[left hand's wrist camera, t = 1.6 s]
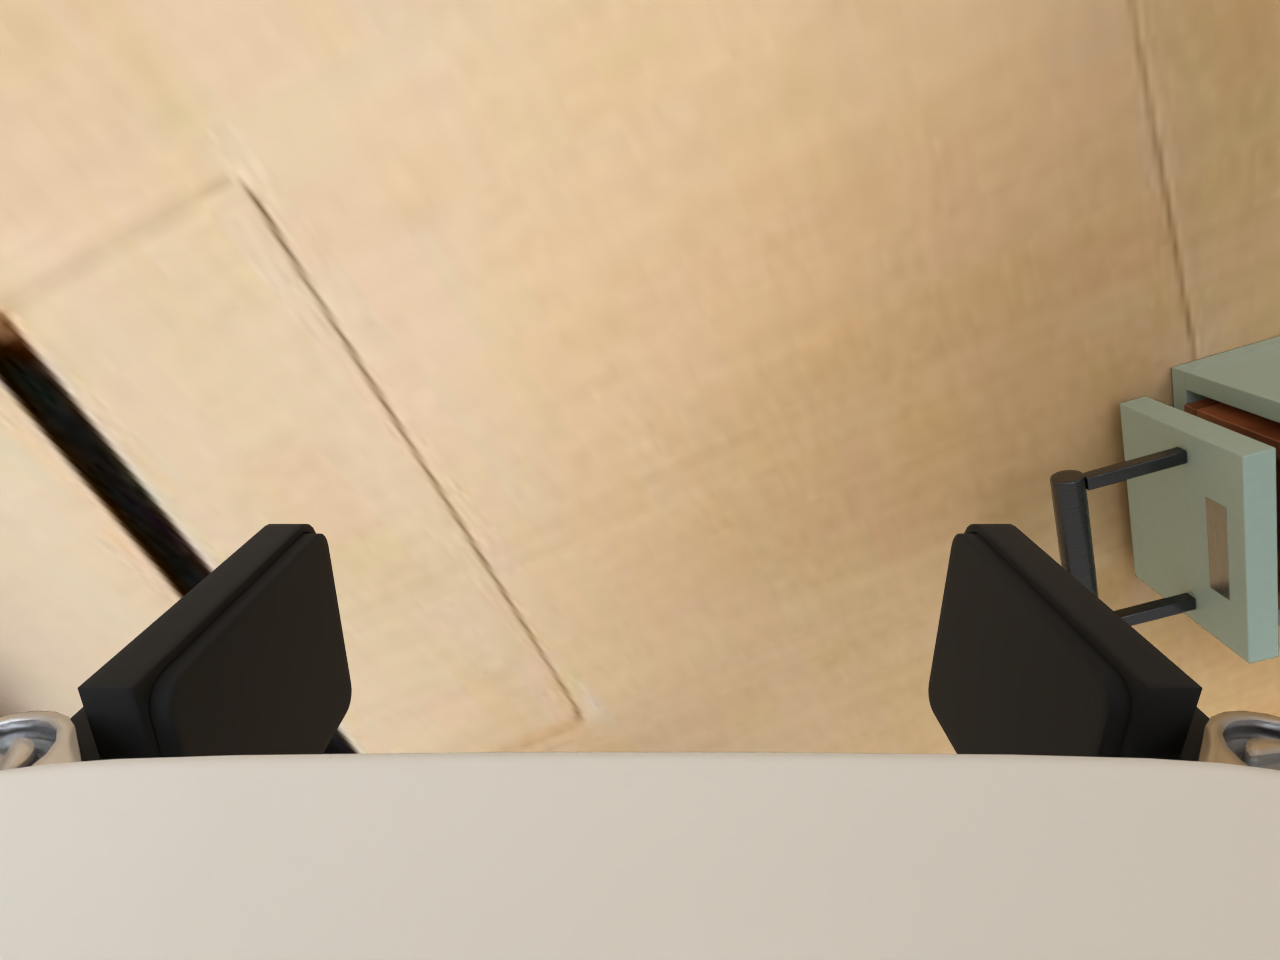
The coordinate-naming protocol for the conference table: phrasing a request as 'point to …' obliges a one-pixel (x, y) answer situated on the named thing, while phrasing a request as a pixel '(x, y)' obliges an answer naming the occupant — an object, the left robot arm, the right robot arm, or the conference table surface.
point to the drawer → (1191, 518)
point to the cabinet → (1234, 380)
